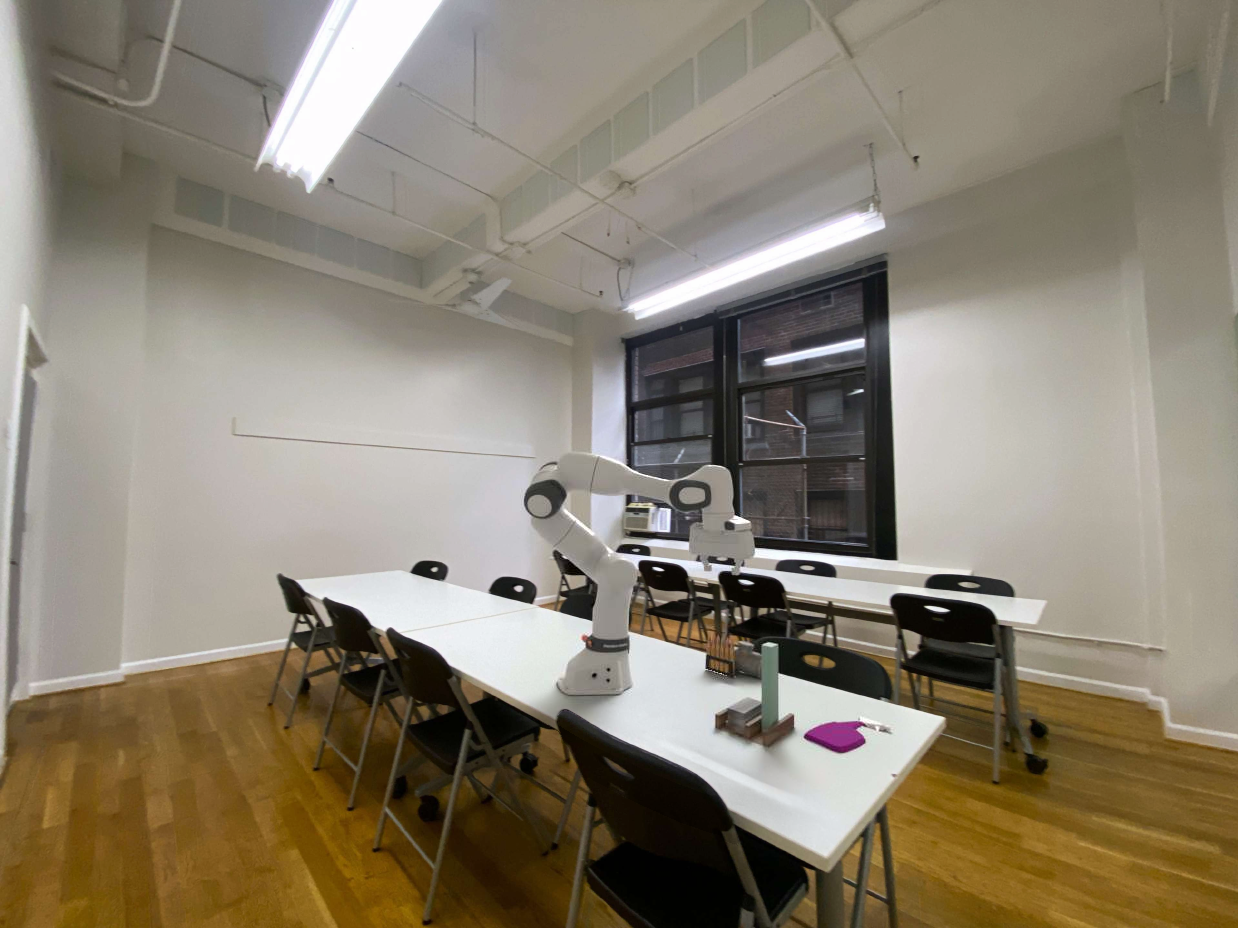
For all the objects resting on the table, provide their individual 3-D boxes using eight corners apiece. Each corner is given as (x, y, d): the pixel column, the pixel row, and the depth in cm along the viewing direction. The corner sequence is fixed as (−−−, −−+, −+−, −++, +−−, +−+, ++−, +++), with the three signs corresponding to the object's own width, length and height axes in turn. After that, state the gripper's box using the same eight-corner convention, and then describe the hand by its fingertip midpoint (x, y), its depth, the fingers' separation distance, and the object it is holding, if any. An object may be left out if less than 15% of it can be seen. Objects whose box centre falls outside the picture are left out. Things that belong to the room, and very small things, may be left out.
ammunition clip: (705, 669, 162) (705, 632, 163) (708, 668, 163) (708, 631, 164) (733, 678, 154) (733, 639, 155) (736, 677, 156) (736, 638, 157)
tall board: (761, 733, 113) (761, 644, 115) (768, 728, 116) (768, 642, 118) (771, 736, 112) (771, 647, 113) (778, 731, 114) (778, 644, 116)
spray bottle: (798, 744, 112) (853, 720, 127) (844, 765, 104) (897, 736, 118) (798, 731, 113) (852, 708, 127) (844, 750, 104) (897, 724, 118)
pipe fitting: (722, 671, 159) (727, 640, 160) (732, 667, 165) (737, 637, 166) (758, 685, 152) (762, 651, 152) (767, 680, 158) (771, 648, 159)
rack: (715, 733, 116) (715, 714, 116) (744, 716, 126) (744, 698, 126) (768, 754, 106) (768, 732, 107) (795, 733, 117) (795, 714, 117)
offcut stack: (725, 727, 116) (725, 708, 116) (748, 714, 124) (748, 695, 124) (744, 734, 112) (744, 714, 113) (766, 720, 120) (766, 701, 121)
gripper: (682, 522, 141) (685, 570, 141) (742, 524, 126) (746, 578, 125) (696, 521, 145) (699, 567, 145) (756, 522, 130) (759, 574, 130)
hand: (721, 572), depth 135 cm, fingers open, 8 cm apart
